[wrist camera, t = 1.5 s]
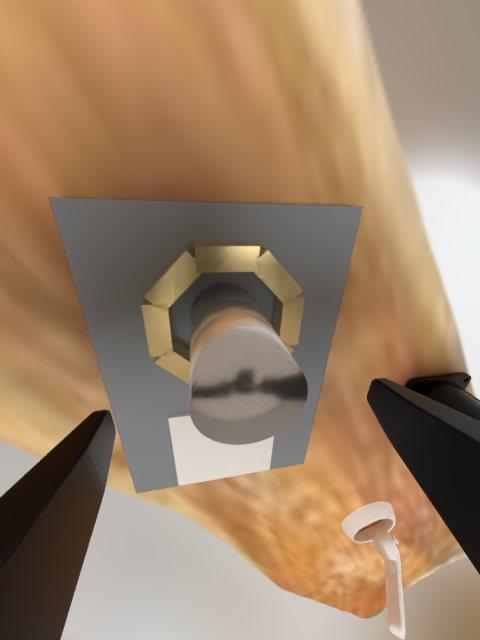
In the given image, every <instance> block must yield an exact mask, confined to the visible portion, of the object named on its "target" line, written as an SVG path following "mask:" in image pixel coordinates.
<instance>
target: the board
mask: <svg viewBox="0 0 480 640" xmlns="http://www.w3.org/2000/svg"><path fill="white" fill-rule="evenodd" d="M49 199H50V203H51V206H52V210H53V213H54V216H55V220H56V223H57V227H58V230H59V233H60V237H61V240H62V243H63V247H64V250H65V254H66V257H67V260H68V264H69V267H70V270H71V274H72V277H73V281H74V284H75V287H76V291H77V294H78V298H79V301H80V304H81V308H82V311H83V314H84V318H85V321H86V325H87V328H88V331H89V335H90V338H91V341H92V345H93V348H94V352H95V355H96V358H97V362H98V365H99V369H100V372H101V375H102V379H103V382H104V385H105V389H106V392H107V396H108V399H109V402H110V406H111V409H112V412H113V416H114V419H115V423H116V426H117V429H118V433H119V436H120V440H121V443H122V446H123V450H124V453H125V456H126V460H127V463H128V467H129V470H130V473H131V477H132V480H133V483H134V487H135V490H136V493H141V492H146V491H152V490H157V489H163V488H169V487H174V486H179V485H178V479H177V472H176V466H175V459H174V453H173V446H172V440H171V433H170V427H169V420H168V416H169V415H172V414H180V413H188V412H190V384H188V383H186V382H185V381H183V380H182V379H180V378H178V377H177V376H175V375H173V374H172V373H170V372H168V371H167V370H165V369H164V368H162V367H160V366H159V365H157V364H155V359H156V357H150V353H149V347H148V342H147V336H146V330H145V324H144V318H143V313H142V307H141V304H142V302H143V300H144V295H145V293H146V291H147V289H148V287H149V286H150V285H151V284H152V283H153V282H154V280H155V279H156V278H157V277H158V276H159V275H160V274H161V273H162V272H163V271H164V269H165V268H166V267H167V266H168V265H169V264H170V263H171V262H172V261H173V260H174V258H175V257H176V256H177V255H178V254H179V253H180V252H181V251H182V250H183V249H184V248H185V246H186V245H187V246H188V247H189V248H190V249H191V250H192V251H193V252H194V253H195V242H254V243H256V244H257V245H261V246H262V247H264V248H266V249H267V250H269V252H270V253H271V254H272V255H273V256H274V257H275V258H276V260H277V261H278V262H279V263H280V264H281V265H282V267H283V268H284V269H285V270H286V271H287V272H288V274H289V275H290V276H291V277H292V278H293V279H294V280H295V282H296V283H297V284H298V285H299V286H300V287H301V289H302V290H303V291H302V292H301V293H300V294H301V295H302V296H304V297H305V301H304V308H303V314H302V320H301V327H300V333H299V340H298V345H290V346H291V347H292V348H293V350H294V351H293V352H292V353H291V356H292V357H293V359H294V360H295V362H296V363H297V365H298V366H299V368H300V369H301V371H302V372H303V374H304V375H305V378H306V380H307V385H308V395H307V400H306V403H305V405H304V408H303V409H302V411H301V413H300V414H299V416H298V417H297V418H296V419H295V420H294V421H293V422H292V423H291V424H290V425H289V426H288V427H287V428H286V429H284V430H283V431H281V432H280V433H278V434H276V435H274V440H273V448H272V455H271V463H270V469H275V468H281V467H287V466H292V465H298V464H304V460H305V455H306V451H307V447H308V442H309V438H310V434H311V429H312V425H313V421H314V416H315V412H316V408H317V403H318V399H319V395H320V390H321V386H322V382H323V377H324V373H325V368H326V364H327V360H328V355H329V351H330V347H331V342H332V338H333V334H334V329H335V325H336V321H337V316H338V312H339V308H340V303H341V299H342V295H343V290H344V286H345V282H346V277H347V273H348V269H349V264H350V260H351V256H352V251H353V247H354V243H355V238H356V234H357V229H358V225H359V221H360V216H361V212H362V208H363V207H356V206H322V205H288V204H254V203H220V202H186V201H152V200H118V199H84V198H50V197H49ZM219 283H232V284H236V285H239V286H241V287H243V288H244V289H246V290H247V291H248V292H249V293H250V294H251V295H252V296H253V298H254V299H255V301H256V303H257V304H258V306H259V307H260V309H261V310H262V312H263V313H264V315H265V316H266V318H267V319H268V321H269V322H270V324H271V325H272V317H273V307H274V296H275V294H274V293H273V292H272V291H271V289H270V288H269V287H268V286H267V285H266V284H265V283H264V282H263V281H262V280H261V279H260V278H259V277H258V276H257V275H256V274H255V273H254V272H211V273H201V274H200V276H199V277H198V278H197V279H196V280H195V281H194V282H193V283H192V284H191V285H190V286H189V287H188V288H187V289H186V290H185V291H184V292H183V293H182V294H181V295H180V296H179V297H178V299H177V300H176V301H175V302H174V303H173V304H172V305H171V310H172V319H173V328H174V336H175V338H177V339H178V340H179V341H181V342H182V343H184V344H185V345H186V346H188V347H189V348H190V312H191V307H192V304H193V302H194V300H195V299H196V297H197V296H198V295H199V294H200V293H201V292H202V291H203V290H205V289H206V288H208V287H210V286H212V285H215V284H219Z"/></svg>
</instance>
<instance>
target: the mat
mask: <svg viewBox="0 0 480 640" xmlns="http://www.w3.org/2000/svg"><path fill="white" fill-rule="evenodd" d="M168 420H169V427H170V433H171V440H172V446H173V453H174V459H175V466H176V472H177V479H178V485H179V486H181V485H186V484H192V483H198V482H203V481H209V480H215V479H220V478H226V477H231V476H237V475H243V474H248V473H254V472H259V471H265V470H270V463H271V455H272V448H273V440H274V436H272V437H270V438H268V439H265V440H263V441H259V442H256V443H251V444H244V445H229V444H223V443H219V442H216V441H213V440H211V439H209V438H207V437H205V436H204V435H203V434H201V433H200V432H199V431H198V430H197V428H196V427H195V425H194V424H193V422H192V419H191V416H190V412H188V413H180V414H172V415H169V416H168Z"/></svg>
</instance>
